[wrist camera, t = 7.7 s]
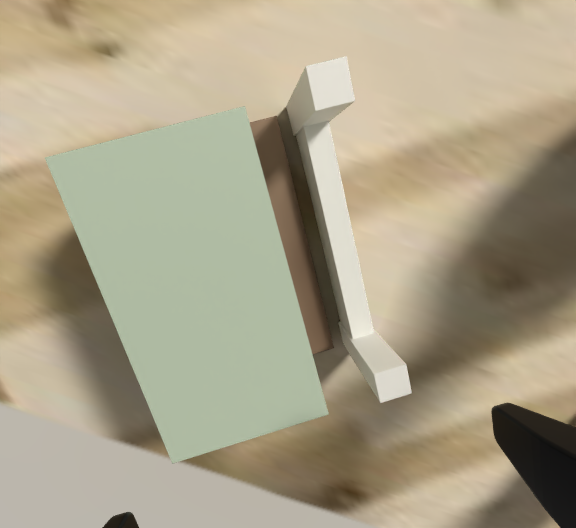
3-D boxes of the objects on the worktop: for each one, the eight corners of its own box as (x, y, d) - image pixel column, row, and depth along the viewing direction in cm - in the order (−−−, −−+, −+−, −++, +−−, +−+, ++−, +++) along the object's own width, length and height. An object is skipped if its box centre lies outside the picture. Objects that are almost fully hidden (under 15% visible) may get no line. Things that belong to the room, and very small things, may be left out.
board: (314, 375, 17) (328, 414, 14) (185, 415, 17) (172, 463, 14) (245, 123, 14) (244, 106, 11) (87, 164, 14) (44, 157, 11)
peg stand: (274, 119, 18) (282, 100, 14) (330, 340, 21) (349, 374, 17) (84, 168, 17) (37, 162, 13) (169, 388, 20) (151, 435, 17)
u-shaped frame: (313, 99, 18) (346, 56, 12) (366, 337, 21) (412, 393, 15) (286, 106, 18) (305, 66, 12) (343, 344, 21) (380, 403, 15)
